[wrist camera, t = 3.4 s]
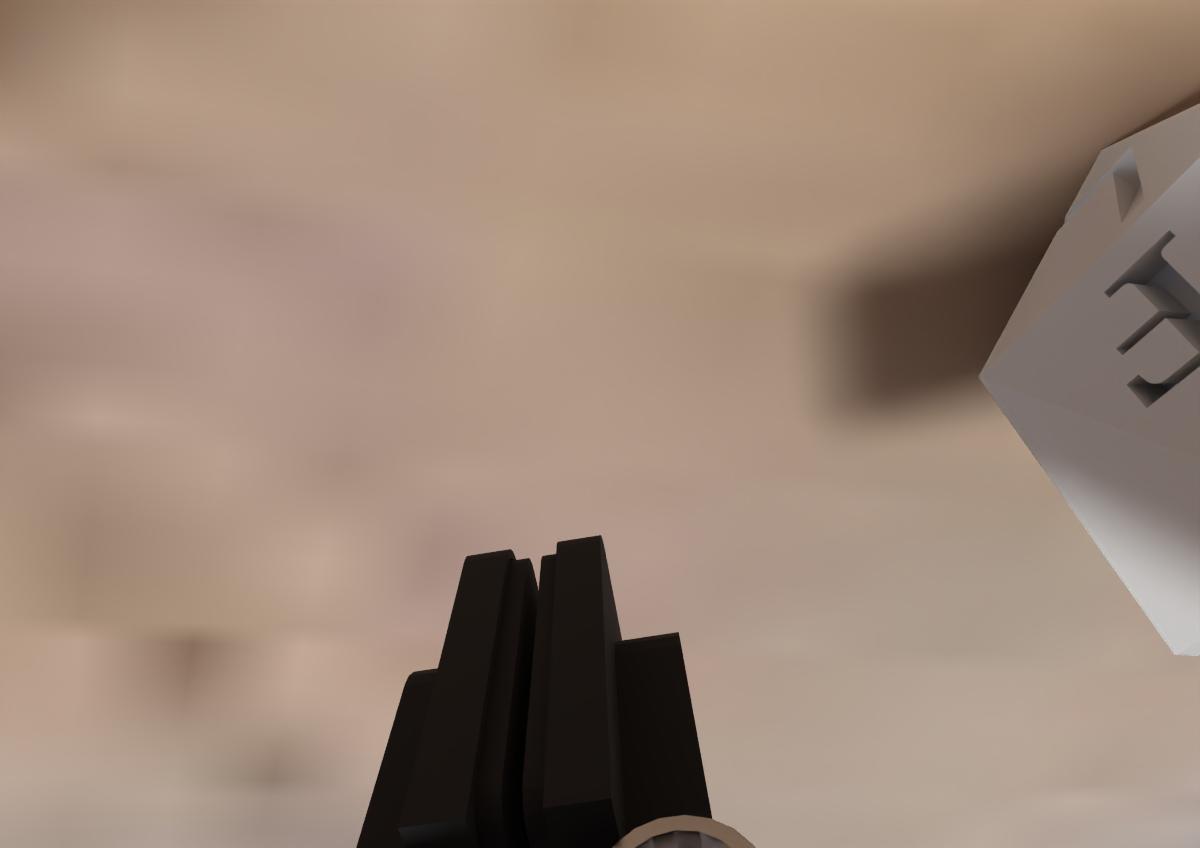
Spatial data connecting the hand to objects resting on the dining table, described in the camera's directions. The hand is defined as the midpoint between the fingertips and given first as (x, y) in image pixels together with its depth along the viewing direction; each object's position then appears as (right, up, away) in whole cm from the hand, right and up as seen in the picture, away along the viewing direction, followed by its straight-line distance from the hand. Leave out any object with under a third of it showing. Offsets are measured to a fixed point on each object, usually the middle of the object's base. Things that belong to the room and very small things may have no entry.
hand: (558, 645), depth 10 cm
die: (+11, +5, +5) cm, 13 cm away
